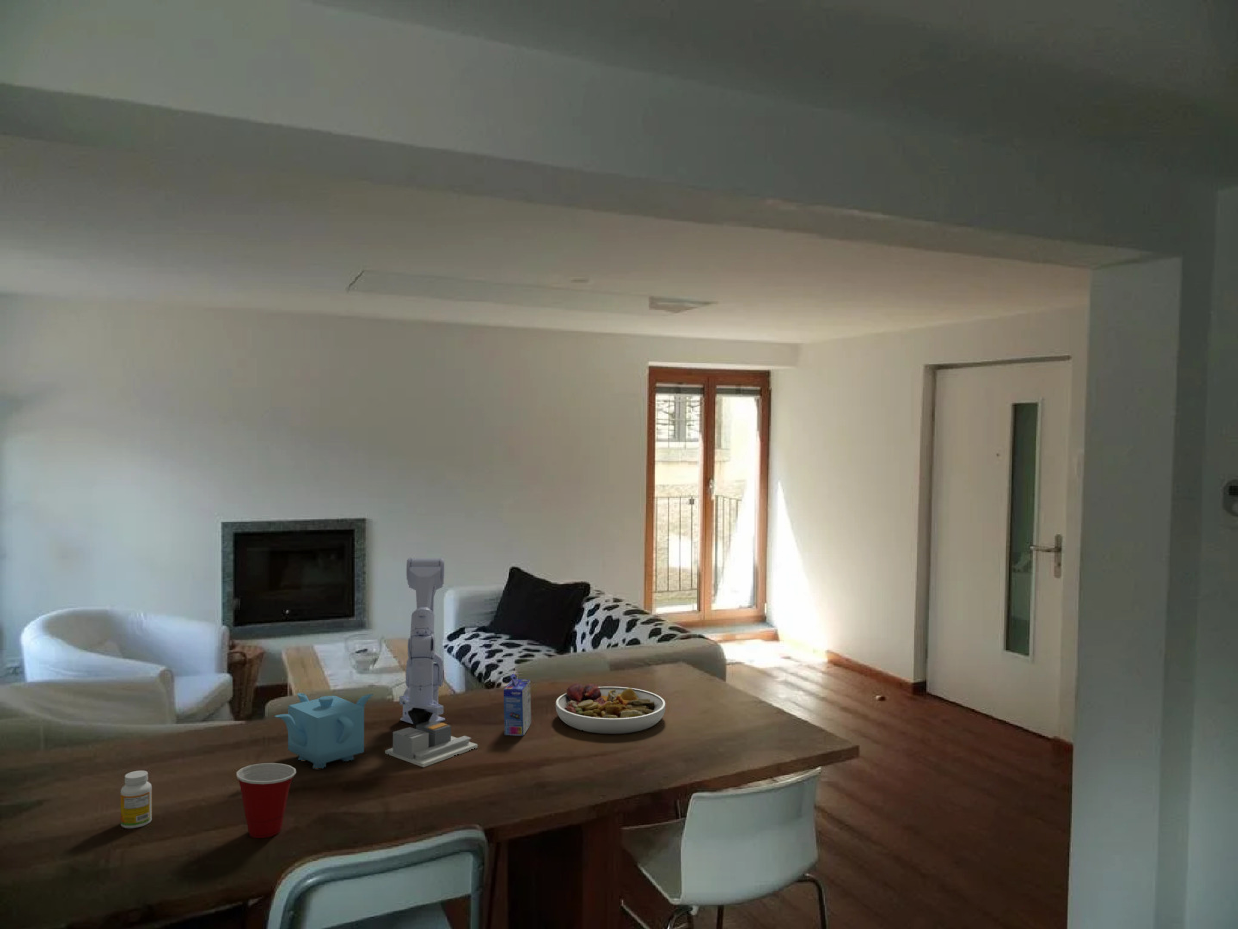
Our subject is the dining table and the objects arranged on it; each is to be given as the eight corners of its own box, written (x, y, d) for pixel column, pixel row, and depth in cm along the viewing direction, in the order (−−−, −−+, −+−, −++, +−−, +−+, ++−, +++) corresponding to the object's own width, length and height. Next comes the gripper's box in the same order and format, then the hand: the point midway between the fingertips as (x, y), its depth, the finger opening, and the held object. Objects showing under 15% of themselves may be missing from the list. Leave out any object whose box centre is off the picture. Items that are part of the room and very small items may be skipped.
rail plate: (385, 753, 213) (385, 729, 213) (439, 735, 227) (440, 712, 227) (423, 767, 205) (423, 741, 205) (477, 747, 218) (477, 723, 218)
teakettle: (354, 773, 201) (355, 709, 200) (271, 773, 200) (271, 709, 200) (374, 745, 220) (374, 686, 219) (297, 744, 219) (298, 685, 219)
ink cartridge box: (511, 723, 237) (511, 669, 237) (531, 724, 237) (531, 670, 236) (502, 735, 228) (503, 679, 227) (523, 736, 227) (524, 680, 227)
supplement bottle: (128, 817, 176) (128, 769, 176) (156, 817, 177) (156, 768, 176) (115, 829, 171) (115, 779, 171) (144, 828, 171) (144, 779, 171)
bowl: (684, 715, 247) (685, 687, 247) (627, 746, 222) (628, 715, 222) (595, 697, 263) (596, 671, 263) (533, 724, 238) (533, 695, 238)
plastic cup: (303, 835, 169) (303, 773, 169) (243, 849, 163) (243, 785, 163) (287, 815, 178) (287, 756, 178) (230, 828, 172) (230, 767, 172)
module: (416, 745, 217) (416, 724, 217) (432, 739, 221) (432, 719, 221) (434, 751, 213) (435, 730, 213) (450, 746, 217) (451, 725, 217)
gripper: (389, 681, 221) (389, 735, 221) (427, 692, 212) (427, 748, 212) (412, 676, 226) (411, 728, 227) (450, 686, 218) (449, 741, 218)
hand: (420, 737), depth 220 cm, fingers closed
